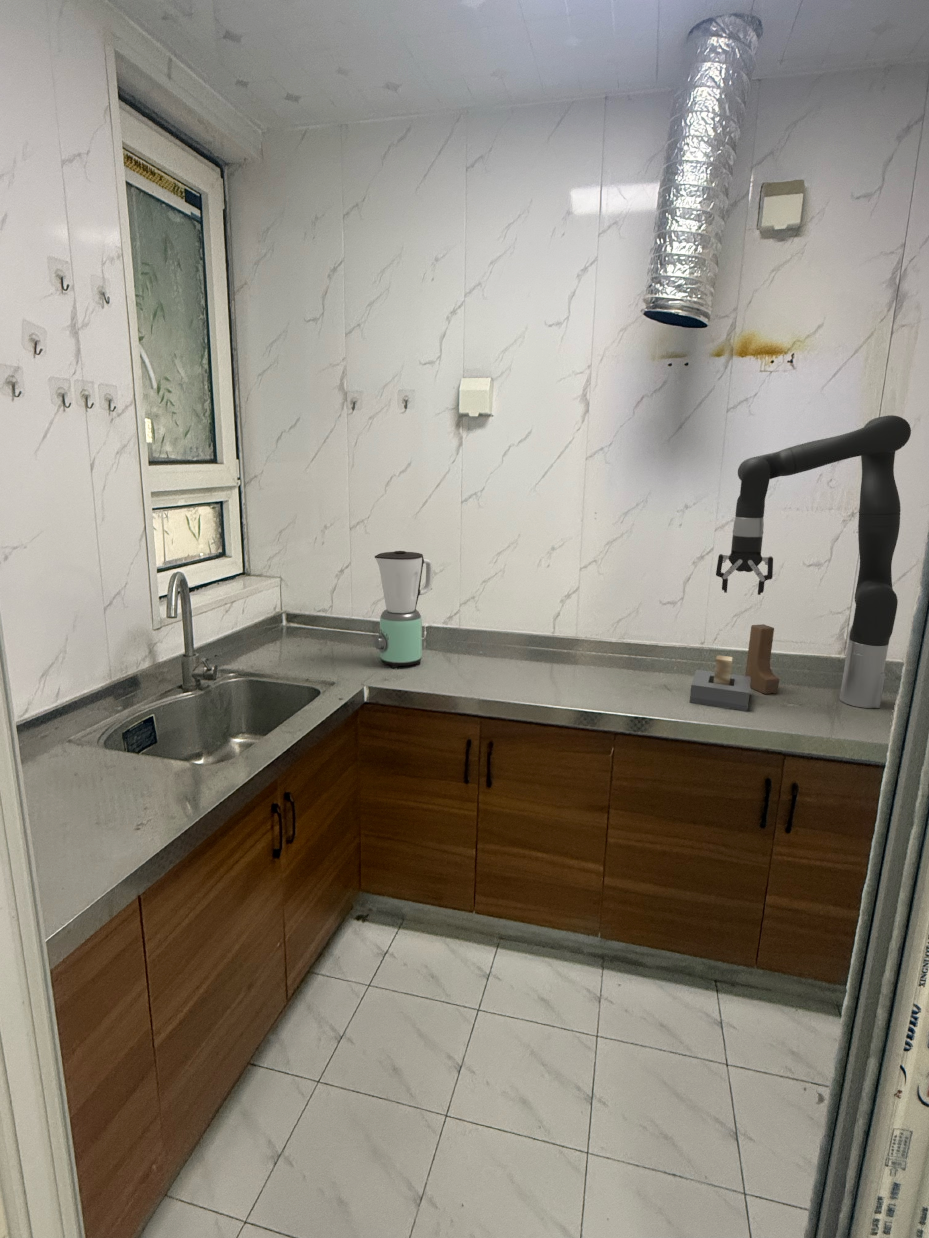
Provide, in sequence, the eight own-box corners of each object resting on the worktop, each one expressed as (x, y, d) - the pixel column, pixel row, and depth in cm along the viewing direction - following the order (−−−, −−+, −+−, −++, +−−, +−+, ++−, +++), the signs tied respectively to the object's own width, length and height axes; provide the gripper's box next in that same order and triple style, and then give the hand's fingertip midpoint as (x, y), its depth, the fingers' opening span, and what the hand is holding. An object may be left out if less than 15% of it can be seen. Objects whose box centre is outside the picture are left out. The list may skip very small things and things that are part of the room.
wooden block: (778, 693, 192) (786, 631, 188) (764, 694, 191) (772, 632, 186) (756, 683, 200) (764, 623, 196) (743, 684, 199) (750, 624, 195)
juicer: (386, 672, 203) (385, 556, 195) (367, 661, 214) (365, 550, 206) (440, 663, 213) (442, 552, 205) (420, 652, 224) (420, 546, 216)
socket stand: (748, 693, 191) (750, 676, 190) (747, 711, 178) (749, 693, 177) (694, 686, 197) (696, 669, 195) (689, 702, 184) (691, 684, 183)
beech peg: (728, 691, 188) (732, 657, 186) (727, 696, 184) (731, 661, 182) (713, 689, 190) (716, 655, 187) (712, 694, 186) (716, 659, 184)
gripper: (776, 533, 184) (769, 592, 187) (719, 531, 189) (714, 589, 193) (777, 536, 177) (770, 597, 181) (719, 534, 182) (713, 594, 186)
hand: (742, 593), depth 187 cm, fingers open, 8 cm apart
